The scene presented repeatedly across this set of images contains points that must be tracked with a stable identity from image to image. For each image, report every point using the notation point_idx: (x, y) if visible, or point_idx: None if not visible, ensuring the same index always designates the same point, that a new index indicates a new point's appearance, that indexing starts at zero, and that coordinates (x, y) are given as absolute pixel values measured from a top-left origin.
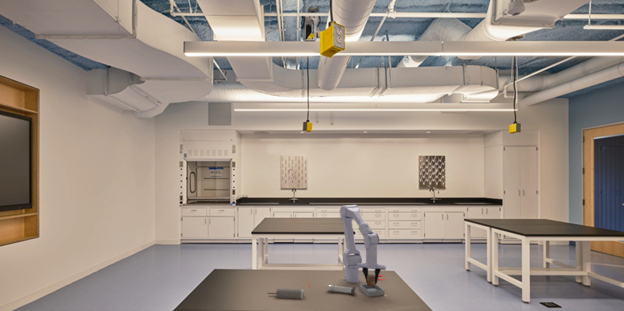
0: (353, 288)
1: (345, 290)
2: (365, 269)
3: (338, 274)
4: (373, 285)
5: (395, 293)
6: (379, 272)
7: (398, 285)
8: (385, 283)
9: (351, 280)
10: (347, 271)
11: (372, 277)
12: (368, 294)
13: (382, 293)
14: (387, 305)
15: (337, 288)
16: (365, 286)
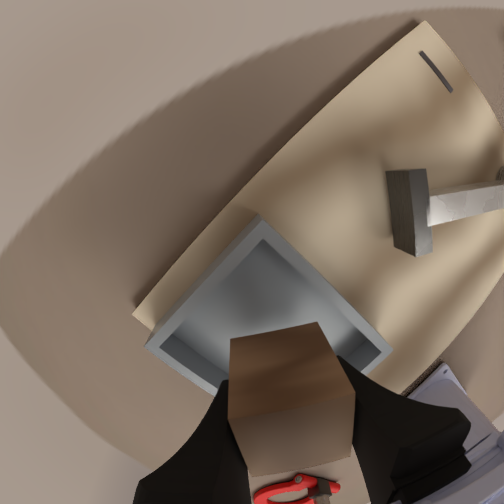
0: (420, 212)
1: (456, 188)
2: (418, 470)
3: None
4: (244, 344)
5: (130, 396)
6: (137, 489)
7: None
8: None
9: (440, 393)
10: (484, 416)
11: (264, 408)
12: (258, 217)
13: (161, 320)
14: (77, 170)
15: (498, 184)
16: None
